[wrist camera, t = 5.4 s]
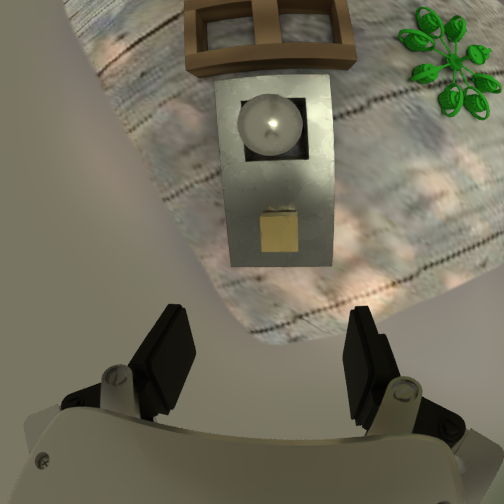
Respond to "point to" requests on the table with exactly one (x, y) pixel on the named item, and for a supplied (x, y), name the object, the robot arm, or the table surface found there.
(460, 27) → the chandelier
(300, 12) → the frame
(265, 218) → the release key
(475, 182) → the table surface
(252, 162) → the socket block
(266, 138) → the grey tall cylinder
